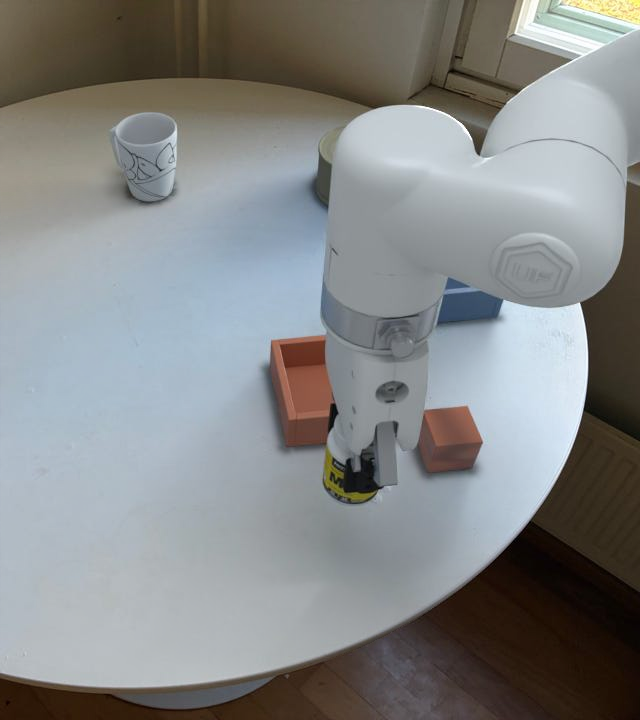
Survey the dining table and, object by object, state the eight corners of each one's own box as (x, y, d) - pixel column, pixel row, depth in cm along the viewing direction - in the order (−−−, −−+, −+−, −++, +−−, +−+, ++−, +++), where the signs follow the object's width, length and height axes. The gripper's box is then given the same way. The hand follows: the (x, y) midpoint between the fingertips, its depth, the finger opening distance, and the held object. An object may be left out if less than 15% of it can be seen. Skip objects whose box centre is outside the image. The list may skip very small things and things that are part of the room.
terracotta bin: (366, 358, 87) (372, 330, 84) (392, 436, 80) (400, 409, 76) (269, 367, 87) (270, 339, 84) (286, 446, 80) (288, 420, 76)
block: (457, 432, 79) (467, 405, 76) (472, 468, 76) (483, 442, 73) (414, 436, 79) (422, 409, 76) (427, 472, 76) (436, 446, 73)
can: (296, 190, 109) (299, 148, 104) (351, 155, 114) (357, 113, 109) (364, 227, 102) (371, 184, 97) (419, 188, 107) (428, 145, 102)
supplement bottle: (319, 503, 65) (325, 444, 59) (324, 458, 68) (331, 397, 62) (377, 512, 64) (390, 453, 58) (380, 466, 67) (393, 405, 61)
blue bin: (469, 261, 97) (477, 232, 93) (497, 317, 90) (508, 288, 86) (389, 268, 97) (394, 240, 93) (411, 325, 90) (418, 297, 87)
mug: (96, 185, 113) (87, 125, 106) (135, 159, 117) (128, 99, 110) (153, 214, 108) (147, 152, 100) (192, 185, 112) (189, 124, 104)
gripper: (483, 391, 44) (431, 547, 57) (401, 213, 55) (373, 378, 69) (352, 405, 44) (331, 558, 57) (298, 225, 56) (290, 387, 69)
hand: (354, 458), depth 63 cm, fingers closed on supplement bottle, 4 cm apart
